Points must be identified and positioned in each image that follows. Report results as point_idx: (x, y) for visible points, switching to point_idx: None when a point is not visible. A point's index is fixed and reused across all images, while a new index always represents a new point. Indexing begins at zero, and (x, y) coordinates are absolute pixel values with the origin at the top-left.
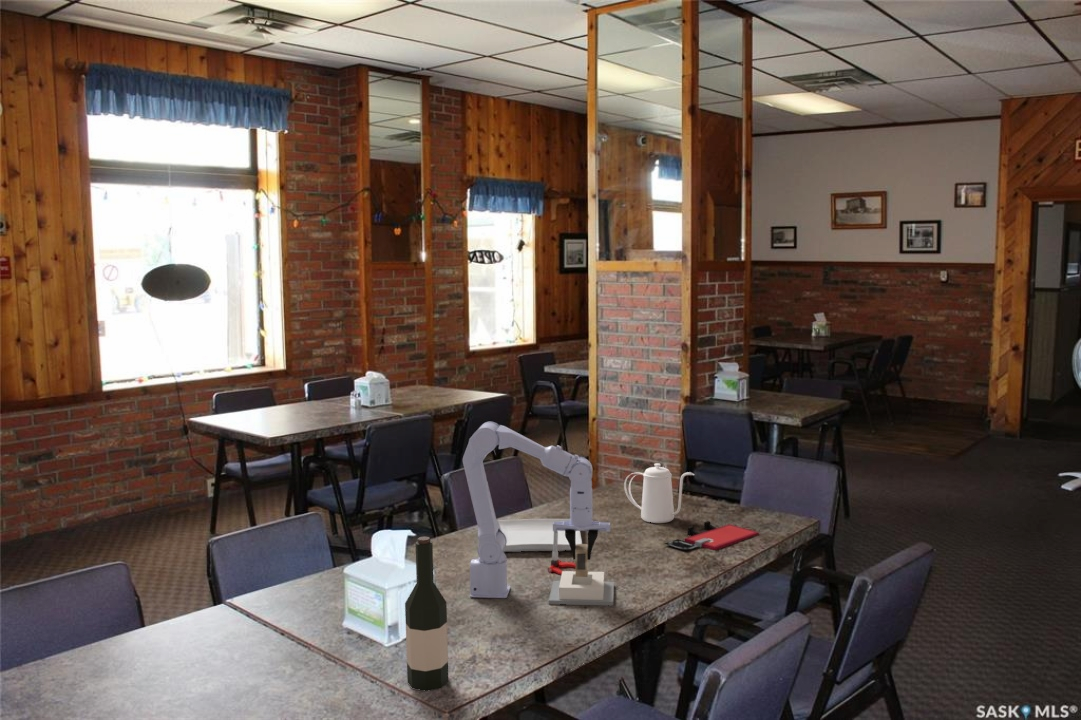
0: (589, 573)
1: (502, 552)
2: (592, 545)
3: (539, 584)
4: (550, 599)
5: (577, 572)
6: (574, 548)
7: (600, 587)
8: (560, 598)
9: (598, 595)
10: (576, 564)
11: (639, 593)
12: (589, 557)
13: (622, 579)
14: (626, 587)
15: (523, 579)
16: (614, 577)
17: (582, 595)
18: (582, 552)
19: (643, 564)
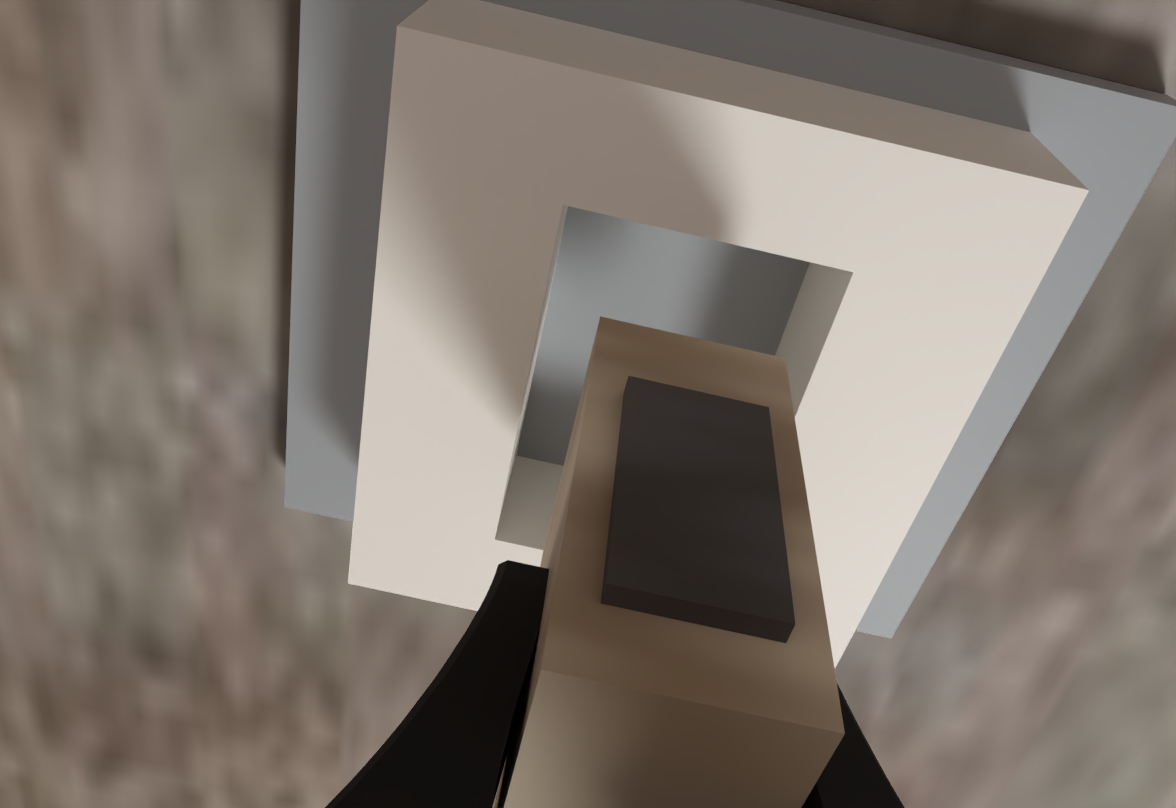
0: None
1: None
2: (373, 780)
3: (1017, 633)
4: (1151, 138)
5: (759, 390)
6: (829, 802)
7: (434, 71)
8: (1014, 129)
9: (492, 17)
10: (786, 479)
11: (21, 243)
12: (507, 585)
13: (217, 590)
14: (172, 418)
15: (1114, 748)
16: (289, 639)
17: (720, 71)
18: (664, 639)
19: (61, 797)
